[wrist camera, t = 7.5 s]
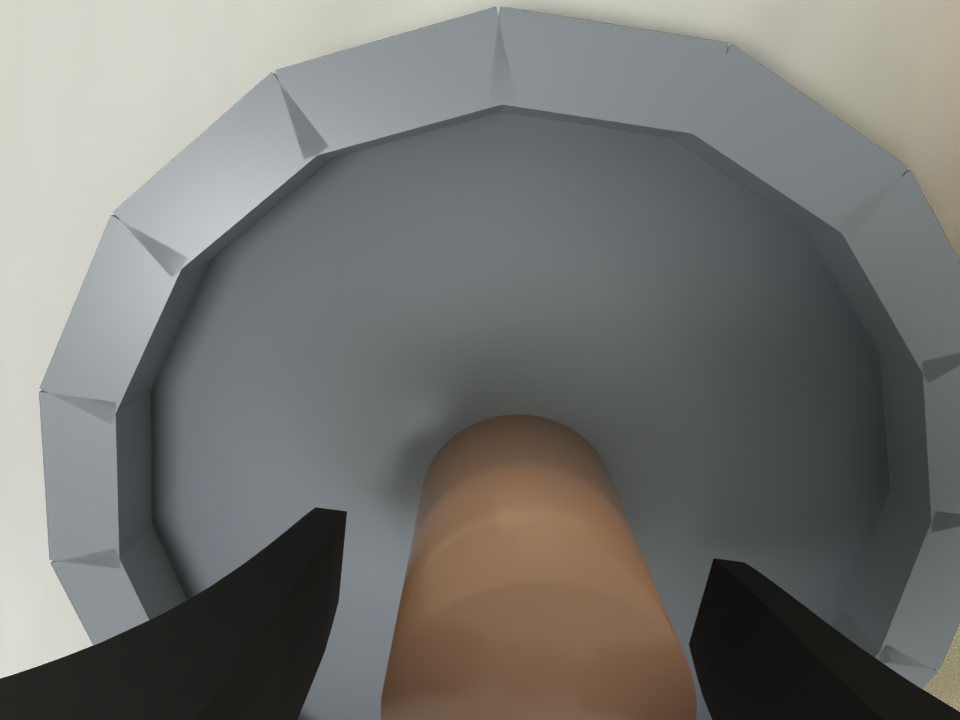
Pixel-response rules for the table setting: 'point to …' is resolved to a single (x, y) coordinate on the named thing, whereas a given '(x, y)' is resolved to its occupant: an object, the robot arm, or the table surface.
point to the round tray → (518, 334)
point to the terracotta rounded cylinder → (529, 590)
